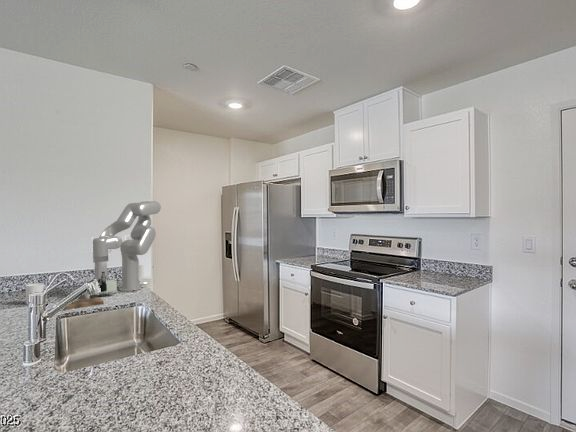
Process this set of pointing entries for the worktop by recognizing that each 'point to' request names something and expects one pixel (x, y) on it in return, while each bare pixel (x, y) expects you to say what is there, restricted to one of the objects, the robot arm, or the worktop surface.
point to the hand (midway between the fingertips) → (102, 289)
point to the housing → (109, 286)
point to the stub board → (84, 302)
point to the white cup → (33, 289)
